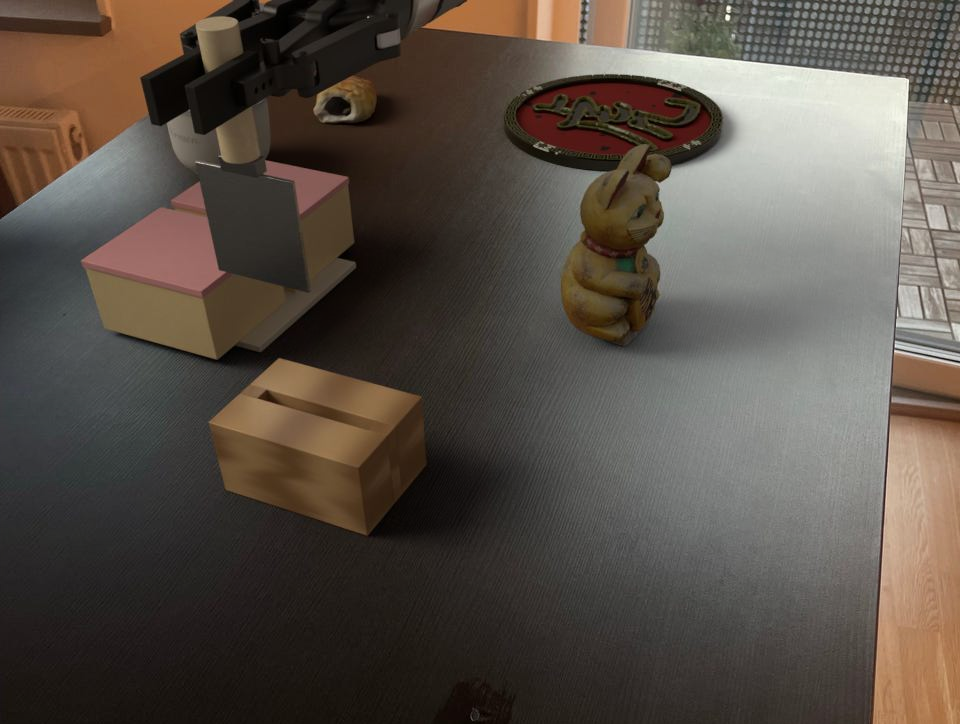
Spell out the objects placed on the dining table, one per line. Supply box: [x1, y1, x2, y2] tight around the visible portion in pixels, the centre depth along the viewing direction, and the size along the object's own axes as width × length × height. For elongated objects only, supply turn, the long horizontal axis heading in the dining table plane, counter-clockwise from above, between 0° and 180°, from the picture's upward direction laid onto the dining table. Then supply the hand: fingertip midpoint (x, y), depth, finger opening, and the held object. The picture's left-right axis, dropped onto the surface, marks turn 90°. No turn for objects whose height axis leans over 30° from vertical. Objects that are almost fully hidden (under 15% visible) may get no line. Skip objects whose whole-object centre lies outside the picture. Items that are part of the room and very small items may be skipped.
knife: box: [195, 17, 311, 293], centre depth 70 cm, size 8×3×17 cm, turn 64°
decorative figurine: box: [560, 144, 673, 347], centre depth 84 cm, size 10×8×15 cm
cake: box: [80, 159, 357, 360], centre depth 92 cm, size 16×23×7 cm
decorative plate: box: [503, 73, 724, 172], centre depth 118 cm, size 25×1×25 cm
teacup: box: [166, 96, 271, 175], centre depth 108 cm, size 14×11×8 cm
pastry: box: [313, 75, 378, 125], centre depth 121 cm, size 9×7×4 cm
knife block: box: [208, 357, 427, 537], centre depth 74 cm, size 12×9×6 cm
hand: (173, 106), depth 62 cm, fingers closed on knife, 3 cm apart
